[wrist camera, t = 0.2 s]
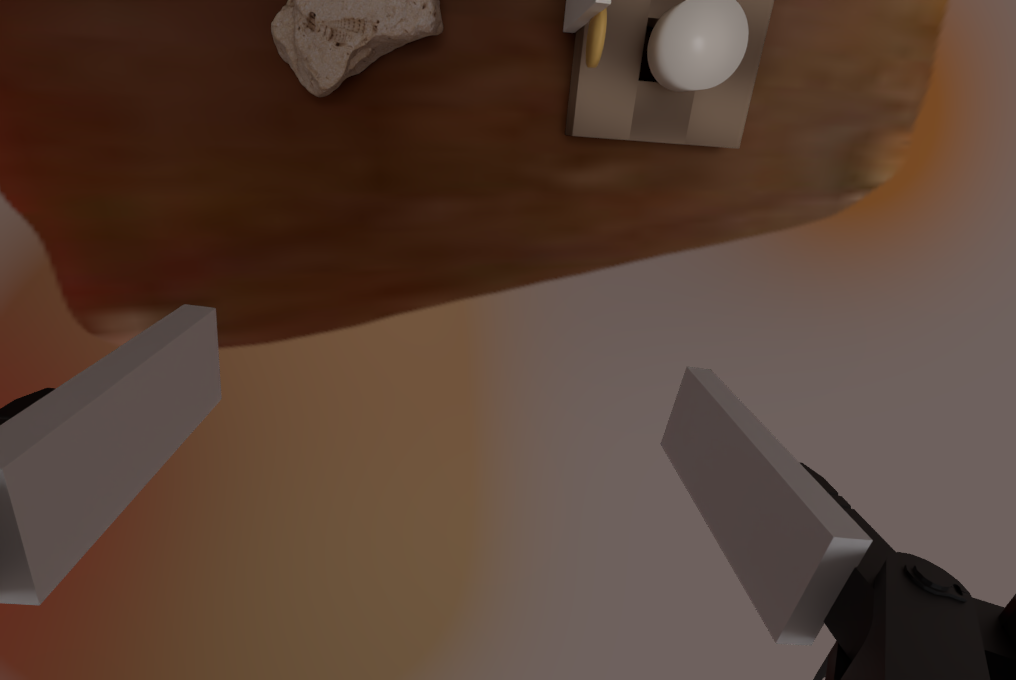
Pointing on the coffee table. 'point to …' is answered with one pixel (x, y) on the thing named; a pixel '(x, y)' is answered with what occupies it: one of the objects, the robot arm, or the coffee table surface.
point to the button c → (697, 44)
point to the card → (584, 6)
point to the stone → (347, 35)
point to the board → (658, 85)
